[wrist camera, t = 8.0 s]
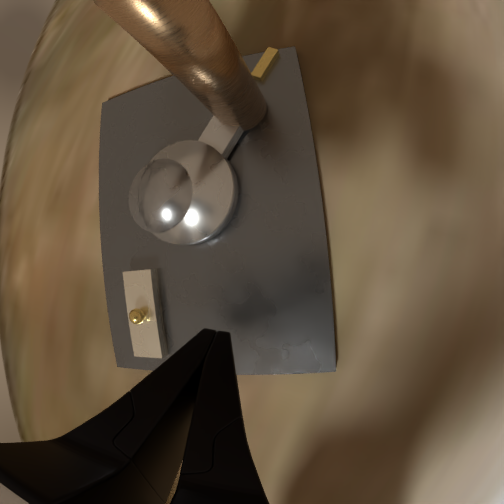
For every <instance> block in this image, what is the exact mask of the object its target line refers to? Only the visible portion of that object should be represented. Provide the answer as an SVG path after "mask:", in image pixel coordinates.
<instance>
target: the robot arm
mask: <svg viewBox="0 0 504 504" xmlns="http://www.w3.org/2000/svg"><path fill="white" fill-rule="evenodd" d="M182 460H183V462H182ZM181 462H182V467H181V472H180V477H179V481H178V485H177V489H176V492H175V494H174V496H173V498H172V500H171V503H170V504H269V502H268V500H267V497H266V495H265V492H264V489H263V487H262V484H261V481H260V479H259V476H258V473H257V470H256V467H255V465H254V462H253V459H252V456H251V453H250V449H249V446H248V442H247V437H246V433H245V427H244V421H243V416H242V409H241V403H240V396H239V389H238V383H237V376H236V369H235V362H234V355H233V348H232V340H231V334H230V332H226V331H220V330H219V331H216V330H214V329H208V328H204V329H202V330H201V331H200V332H199V333H197V334H196V335H195V336H194V337H193V338H192V339H190V340H189V341H188V342H187V343H186V344H185V345H183V346H182V347H181V348H180V349H179V350H177V351H176V352H175V353H174V354H173V355H172V356H170V357H169V358H168V359H167V360H166V361H164V362H163V363H162V364H161V365H160V366H159V367H157V368H156V369H155V370H154V371H153V372H151V373H150V374H149V375H148V376H147V377H145V378H144V379H143V380H142V381H141V382H139V383H138V384H137V385H136V386H135V387H133V388H132V389H131V390H130V391H128V392H127V393H126V394H125V395H123V396H122V397H121V398H120V399H118V400H117V401H116V402H115V403H113V404H112V405H111V406H109V407H108V408H106V409H105V410H104V411H102V412H101V413H99V414H98V415H96V416H94V417H93V418H91V419H90V420H88V421H86V422H85V423H83V424H82V425H80V426H78V427H77V428H75V429H73V430H72V431H70V432H68V433H67V434H65V435H63V436H61V437H58V438H55V439H52V440H47V441H34V442H17V443H0V504H165V503H166V501H167V498H168V496H169V493H170V491H171V488H172V486H173V483H174V480H175V478H176V475H177V473H178V470H179V468H180V465H181Z"/></svg>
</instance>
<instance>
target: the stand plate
mask: <svg viewBox="0 0 504 504" xmlns="http://www.w3.org/2000/svg"><path fill="white" fill-rule="evenodd" d="M242 58H243V59H244V61H245V63H246V65H247V67H248V68H249V70H250V72H251V74H252V76H253V78H254V79H255V81H256V83H257V85H258V87H259V89H260V91H261V93H262V95H263V97H264V98H265V101H266V113H265V115H264V117H263V119H262V120H261V122H260V123H259V124H257V125H256V126H255V127H253V128H251V129H249V130H246V131H244V132H243V133H242V135H241V136H240V138H239V140H238V141H237V143H236V145H235V146H234V148H233V149H232V151H231V153H230V154H229V156H228V158H227V160H228V161H229V162H230V164H231V165H232V167H233V169H234V171H235V173H236V176H237V180H238V186H239V195H238V202H237V206H236V209H235V212H234V214H233V216H232V218H231V220H230V221H229V223H228V224H227V225H226V227H225V228H224V229H223V230H222V231H221V232H220V233H219V234H218V235H216V236H215V237H213V238H212V239H210V240H208V241H205V242H202V243H199V244H191V245H185V244H172V243H168V242H165V241H163V240H161V239H159V238H158V237H156V236H155V235H154V234H153V233H152V232H148V231H146V230H144V229H142V228H141V227H140V226H139V225H138V224H137V223H136V222H135V220H134V219H133V217H132V215H131V212H130V208H129V192H130V187H131V185H132V182H133V180H134V178H135V176H136V175H137V173H138V172H139V171H140V170H141V169H142V168H143V167H144V166H145V165H147V164H148V163H149V162H150V161H151V160H152V158H153V157H154V156H155V155H156V154H157V153H158V152H160V151H161V150H162V149H164V148H165V147H167V146H169V145H171V144H173V143H176V142H179V141H184V140H195V141H198V140H199V138H200V136H201V135H202V133H203V131H204V130H205V128H206V127H207V125H208V123H209V122H210V120H211V119H212V117H213V114H212V113H211V112H210V111H209V110H208V109H207V108H206V107H205V106H204V105H203V104H202V103H201V102H200V101H199V100H198V99H197V98H196V97H195V96H194V95H193V94H192V93H191V92H190V91H189V90H188V89H187V88H186V87H185V86H184V85H183V84H182V83H181V82H180V81H179V80H178V79H177V78H176V77H175V76H171V77H168V78H165V79H162V80H159V81H156V82H154V83H151V84H148V85H145V86H143V87H140V88H137V89H135V90H132V91H130V92H127V93H125V94H122V95H120V96H118V97H115V98H113V99H110V100H108V101H106V102H104V103H102V112H101V127H100V149H99V211H100V233H101V249H102V262H103V272H104V282H105V291H106V299H107V307H108V314H109V321H110V328H111V334H112V340H113V346H114V352H115V357H116V362H117V367H123V368H132V369H142V370H153V371H154V370H155V369H156V368H157V367H159V366H160V365H161V364H162V363H163V362H164V361H166V360H167V359H168V358H169V357H170V356H172V355H173V354H174V353H175V352H176V351H177V350H179V349H180V348H181V347H182V346H183V345H185V344H186V343H187V342H188V341H189V340H190V339H192V338H193V337H194V336H195V335H196V334H197V333H199V332H200V331H201V330H202V329H204V328H208V329H214V330H216V331H219V330H220V331H226V332H230V334H231V340H232V348H233V355H234V362H235V369H236V375H265V374H301V373H320V372H335V371H336V354H335V334H334V317H333V303H332V290H331V278H330V267H329V256H328V247H327V237H326V228H325V220H324V211H323V203H322V196H321V188H320V181H319V174H318V167H317V161H316V154H315V148H314V141H313V135H312V129H311V124H310V118H309V112H308V107H307V101H306V96H305V91H304V86H303V81H302V76H301V71H300V66H299V62H298V57H297V52H296V48H295V46H294V47H288V48H282V49H274V48H271V47H268V48H267V50H266V51H265V52H261V53H256V54H251V55H247V56H242Z"/></svg>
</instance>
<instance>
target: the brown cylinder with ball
mask: <svg viewBox="0 0 504 504" xmlns="http://www.w3.org/2000/svg"><path fill="white" fill-rule="evenodd" d="M94 3H95V4H96V5H97V6H98V7H99V8H100V9H102V10H103V11H104V12H105V13H106V14H107V15H108V16H110V17H111V18H112V19H113V20H114V21H115V22H117V23H118V24H119V25H120V26H121V27H122V28H123V29H124V30H126V31H127V32H128V33H129V34H130V35H131V36H132V37H133V38H134V39H136V40H137V41H138V42H139V43H140V44H141V45H142V46H143V47H144V48H145V49H146V50H147V51H149V52H150V53H151V54H152V55H153V56H154V57H155V58H156V59H157V60H158V61H159V62H160V63H161V64H162V65H163V66H164V67H166V68H167V69H168V70H169V71H170V72H171V73H172V74H173V75H174V76H175V77H176V78H177V79H178V80H179V81H180V82H181V83H182V84H183V85H184V86H185V87H186V88H187V89H188V90H189V91H190V92H191V93H192V94H193V95H194V96H195V97H196V98H197V99H198V100H199V101H200V102H201V103H202V104H203V105H204V106H205V107H206V108H207V109H208V110H209V111H210V112H211V113H212V114H213V117H212V119H211V120H210V122H209V123H208V125H207V127H206V128H205V130H204V131H203V133H202V135H201V136H200V138H199V140H198V141H195V140H184V141H179V142H176V143H173V144H171V145H169V146H167V147H165V148H164V149H162V150H161V151H160V152H158V153H157V154H156V155H155V156H154V157H153V158H152V160H151V161H150V162H149V163H148V164H147V165H145V166H144V167H143V168H142V169H141V170H140V171H139V172H138V173H137V175H136V176H135V178H134V180H133V182H132V185H131V187H130V192H129V208H130V212H131V215H132V217H133V219H134V220H135V222H136V223H137V224H138V225H139V226H140V227H141V228H142V229H144V230H146V231H148V232H152V233H153V234H154V235H155V236H156V237H158V238H159V239H161V240H163V241H165V242H168V243H172V244H185V245H191V244H199V243H202V242H205V241H208V240H210V239H212V238H213V237H215V236H216V235H218V234H219V233H220V232H221V231H222V230H223V229H224V228H225V227H226V225H227V224H228V223H229V221H230V220H231V218H232V216H233V214H234V212H235V209H236V206H237V202H238V195H239V186H238V180H237V176H236V173H235V171H234V169H233V167H232V165H231V164H230V162H229V161H228V160H227V158H228V156H229V154H230V153H231V151H232V149H233V148H234V146H235V145H236V143H237V141H238V140H239V138H240V136H241V135H242V133H243V132H244V131H246V130H249V129H251V128H253V127H255V126H256V125H257V124H259V123H260V122H261V120H262V119H263V117H264V115H265V113H266V101H265V98H264V97H263V95H262V93H261V91H260V89H259V87H258V85H257V83H256V81H255V79H254V78H253V76H252V74H251V72H250V70H249V68H248V67H247V65H246V63H245V61H244V59H243V58H242V56H241V54H240V52H239V50H238V49H237V47H236V45H235V43H234V42H233V40H232V38H231V36H230V35H229V33H228V31H227V29H226V28H225V26H224V24H223V23H222V21H221V19H220V18H219V16H218V14H217V13H216V11H215V9H214V8H213V6H212V4H211V3H210V1H209V0H94Z"/></svg>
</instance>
